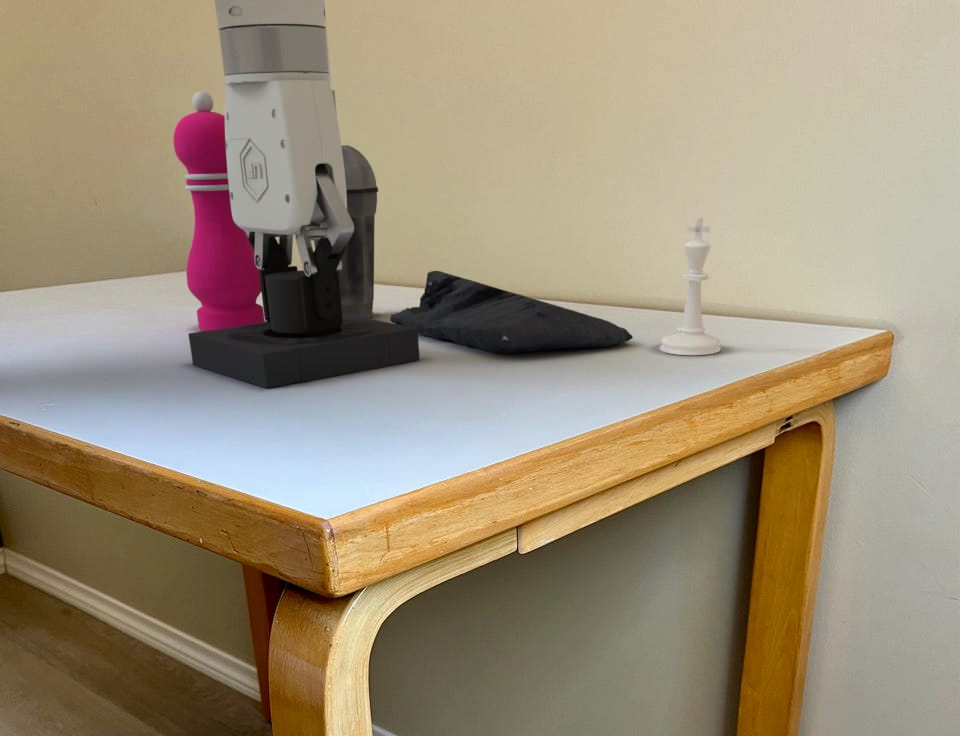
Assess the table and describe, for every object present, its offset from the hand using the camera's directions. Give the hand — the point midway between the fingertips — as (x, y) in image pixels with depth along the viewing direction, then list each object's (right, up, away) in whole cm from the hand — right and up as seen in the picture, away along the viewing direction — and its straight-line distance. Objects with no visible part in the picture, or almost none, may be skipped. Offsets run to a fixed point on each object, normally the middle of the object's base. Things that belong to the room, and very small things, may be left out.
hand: (303, 321), depth 80 cm
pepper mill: (-10, +5, +18) cm, 21 cm away
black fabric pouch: (+16, +2, +10) cm, 19 cm away
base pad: (0, -3, +1) cm, 3 cm away
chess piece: (+31, -2, +3) cm, 31 cm away
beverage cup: (+1, +7, +21) cm, 22 cm away
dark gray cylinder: (0, 0, 0) cm, 0 cm away
